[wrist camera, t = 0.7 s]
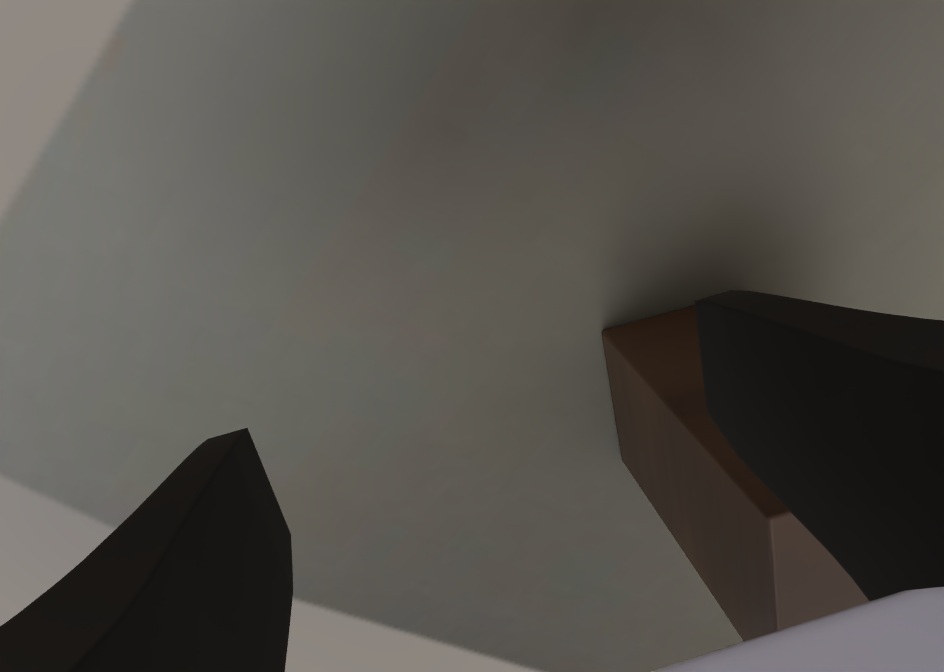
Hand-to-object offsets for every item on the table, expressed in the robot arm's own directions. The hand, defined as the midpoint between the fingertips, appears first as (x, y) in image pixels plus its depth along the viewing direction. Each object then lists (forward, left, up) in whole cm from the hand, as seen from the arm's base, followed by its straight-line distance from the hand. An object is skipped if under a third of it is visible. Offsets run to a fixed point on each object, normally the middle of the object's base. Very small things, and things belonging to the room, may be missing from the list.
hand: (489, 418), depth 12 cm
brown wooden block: (-5, -7, -9) cm, 12 cm away
